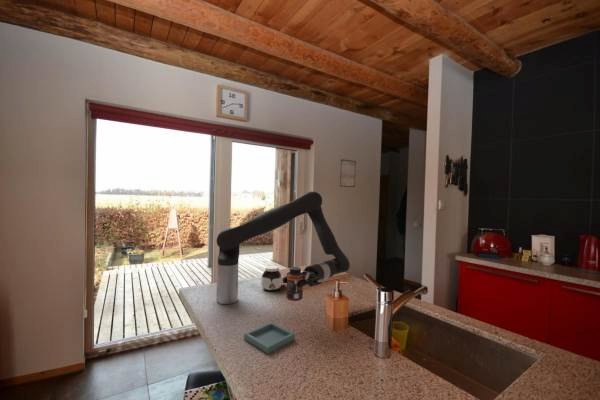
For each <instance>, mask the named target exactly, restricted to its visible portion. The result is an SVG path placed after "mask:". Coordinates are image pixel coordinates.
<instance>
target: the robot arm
mask: <svg viewBox="0 0 600 400" xmlns="http://www.w3.org/2000/svg"><path fill="white" fill-rule="evenodd" d="M322 204H323V197H322V196H321V194H320V193H319V192H317V191H308V192H306V193H304V194H303V195H301V196H299V197H298V198H295V199H294V200H292V201H289V202H288V203H284V204H281V205H278V206H275V207H274V208H271V209H268V210H266V211H263V212H262V213H260V214H258V215H256V216H254V217H252V218H251V219H250V220H248V221H246V222H244V223H242V224H240V225H237V226H235V227H227V228H224V229H222V230H221V231H220V232H219V233H218V234H217V237H216V245H217V247H218V248H219V249H218V250H219V251H218V257H217V279H216V297H215V299H216V301H217V303H218V304H220V305H231V304H234V303H236V302H237V301H238V298H239V297H238V296H239V258H240V245H241V244H243V243H244V242H246V241H248V240H251V239H253V238H256V237H258V236H261V235H264V234H267V233H270V232H272V231H275V230H277V229H278V228H280V227H283V226H284V225H286V224H288V223H289V222H291V221H292V220H293V219H295V218H297V217H299V216H302V215H304V214H307V215H308V216H309V219H310V220H311V223H312V224H313V226H314V230H315V231H316V234H317V237H318V240H319V242H320V245H321V247H322V249H323V252H324V254H325V255H326V256H327V255H328V256H331V255H332V256H333V257H334V258H332V259H329V260H324V261H321V262H317V263H314V264H311V265H306V266H305V268H304V270H301V274H302V275H303V279H302V280H299V281H297V287H298V288H299V287H302V286H303V287H304V286H306V287H315V286H317V285H321V284H322V282H324V281H326V280H328V279H329V278H332V277H334V276H335V275H338V274H342V273H345V272H347V271H349V270H350V266H351V264H350V260H349V258H348V256H346V255H345V253H344V252H343V250H342V249H341V248H340V246H339V244H338V242H337V239H336V237H335V235H334V233H333V231H332V229H331V228H330V226H329V224H328V222H327V220H326V218H325V215H324V213H323V208H322ZM289 273H290V271H289V272H287V273H286V276H284V278H283V283H286V284H287V275H288V274H289Z"/></svg>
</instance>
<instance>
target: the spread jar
mask: <svg viewBox="0 0 600 400" xmlns="http://www.w3.org/2000/svg"><path fill="white" fill-rule="evenodd" d="M284 277H285V276H284V275H283V274H282V273H281V272H280V270H279V266H278V265H267V266H265V269H264V272H263V273H262V275H261V287H262V289H263V290H264V291H265V292H277V291H278V290H279V289H280V288H281V282H283V278H284Z"/></svg>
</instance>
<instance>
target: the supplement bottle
mask: <svg viewBox="0 0 600 400" xmlns="http://www.w3.org/2000/svg"><path fill="white" fill-rule="evenodd" d="M301 271H302V270H301V267H299V266H291V267H289V272H290V273H289V274H288V275H287V274H286V276H287V283H286V299H287V300H289V301H291V302H293V301H294V302H298V301H301V300H302V299H303V297H304V296H303V294H304V293H303V291H304V288H303V287H304V286H302V287H299V288H298V287H297V281H299V280H302V279H303V275H302V274H301Z"/></svg>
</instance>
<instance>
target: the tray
mask: <svg viewBox="0 0 600 400" xmlns="http://www.w3.org/2000/svg"><path fill="white" fill-rule="evenodd" d="M243 334H244V337H243V339H244V341H245V342H247V343H248V344H249V345H251V346H252V347H254V348H256V349H258V350H260V351H261V352H263V353H264V354H266V355H267V356H268V355H269V354H271V353H273V352H276V351H278V350H279V349H280V348H283V347H284V346H287V345H288V344H290V343H292V342H295V341H296V340H295V339H296V334H295V333H294V332H292V331H290V330H288V329H286V328H284V327H282V326H280V325H278V324H276V323H274V322H272V321H270V322H268V323H266V324H263V325H261V326H259V327H257V328H254V329H252V330H250V331H248V332H245V333H243Z"/></svg>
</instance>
